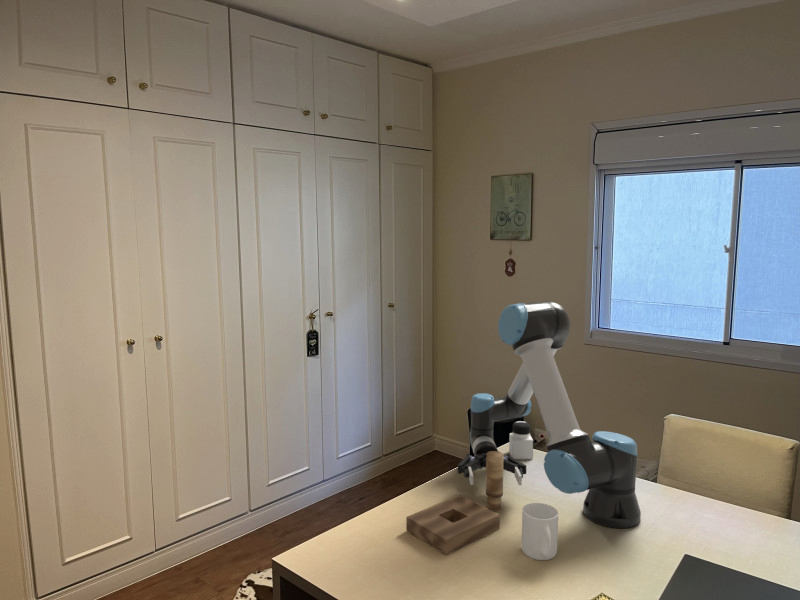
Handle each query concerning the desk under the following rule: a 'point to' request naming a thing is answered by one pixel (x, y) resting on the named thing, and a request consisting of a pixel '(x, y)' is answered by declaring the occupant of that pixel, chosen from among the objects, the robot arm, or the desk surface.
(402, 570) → the desk surface
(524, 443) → the medicine bottle
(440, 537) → the seat board
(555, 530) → the mug
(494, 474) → the oak leg
